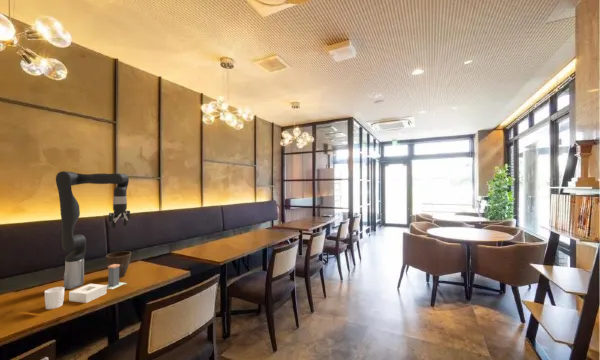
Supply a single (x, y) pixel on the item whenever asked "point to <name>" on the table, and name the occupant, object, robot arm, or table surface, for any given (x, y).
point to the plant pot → (119, 261)
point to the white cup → (54, 297)
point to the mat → (115, 286)
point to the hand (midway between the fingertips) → (119, 227)
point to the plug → (113, 275)
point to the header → (87, 293)
